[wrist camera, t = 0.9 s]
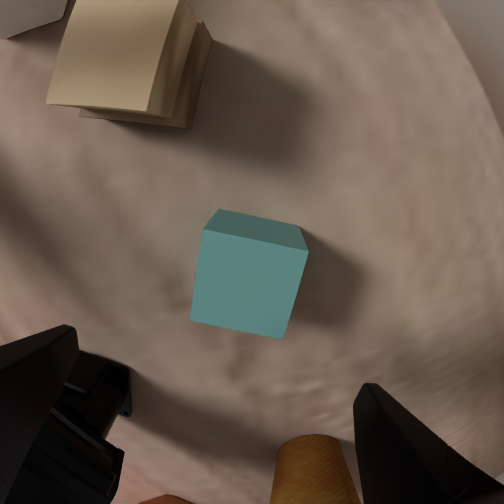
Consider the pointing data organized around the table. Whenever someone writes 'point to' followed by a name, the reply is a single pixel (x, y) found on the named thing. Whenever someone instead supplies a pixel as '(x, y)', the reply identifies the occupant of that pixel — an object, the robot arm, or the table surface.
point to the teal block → (248, 273)
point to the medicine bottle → (28, 15)
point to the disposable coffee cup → (312, 473)
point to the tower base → (185, 93)
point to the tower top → (123, 56)
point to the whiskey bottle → (165, 500)
